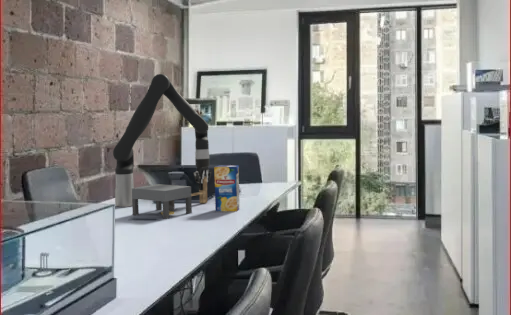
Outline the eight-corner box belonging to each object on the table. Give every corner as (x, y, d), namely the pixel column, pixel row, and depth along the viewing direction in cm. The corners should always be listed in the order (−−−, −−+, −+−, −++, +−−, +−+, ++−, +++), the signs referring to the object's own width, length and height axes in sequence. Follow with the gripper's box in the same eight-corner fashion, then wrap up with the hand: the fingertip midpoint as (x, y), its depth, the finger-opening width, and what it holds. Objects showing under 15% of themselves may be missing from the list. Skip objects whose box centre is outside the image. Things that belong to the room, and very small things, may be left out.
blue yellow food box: (237, 211, 283) (236, 166, 282) (215, 211, 285) (214, 166, 283) (239, 208, 290) (238, 165, 288) (218, 208, 292) (217, 165, 290)
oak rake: (201, 202, 314) (201, 176, 313) (208, 202, 311) (208, 176, 310) (165, 209, 290) (164, 182, 289) (172, 210, 288) (172, 182, 287)
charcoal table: (132, 215, 279) (131, 188, 278) (158, 209, 294) (158, 184, 293) (166, 218, 266) (165, 190, 265) (191, 212, 281) (191, 186, 280)
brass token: (161, 215, 279) (160, 212, 279) (167, 214, 282) (167, 210, 282) (167, 216, 276) (167, 212, 276) (174, 214, 280) (174, 211, 280)
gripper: (205, 156, 317) (206, 187, 319) (188, 158, 306) (189, 190, 307) (215, 157, 313) (216, 188, 314) (199, 158, 302) (200, 191, 303)
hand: (203, 189), depth 311 cm, fingers closed on oak rake, 3 cm apart
